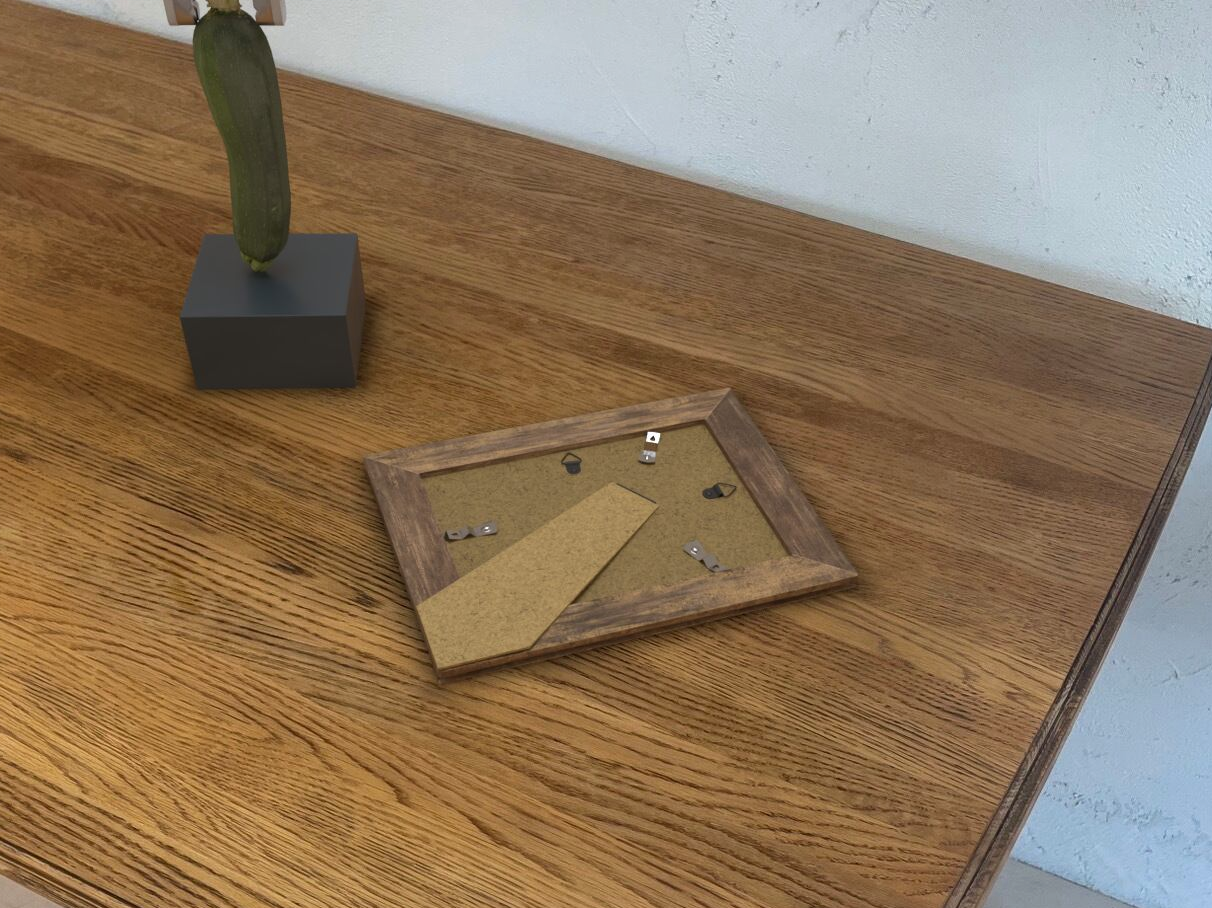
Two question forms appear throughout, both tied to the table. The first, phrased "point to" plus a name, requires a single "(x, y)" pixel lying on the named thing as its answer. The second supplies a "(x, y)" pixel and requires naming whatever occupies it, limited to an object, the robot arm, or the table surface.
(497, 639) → the picture frame
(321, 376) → the block
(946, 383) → the table surface
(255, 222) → the vegetable
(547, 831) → the table surface
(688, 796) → the table surface
